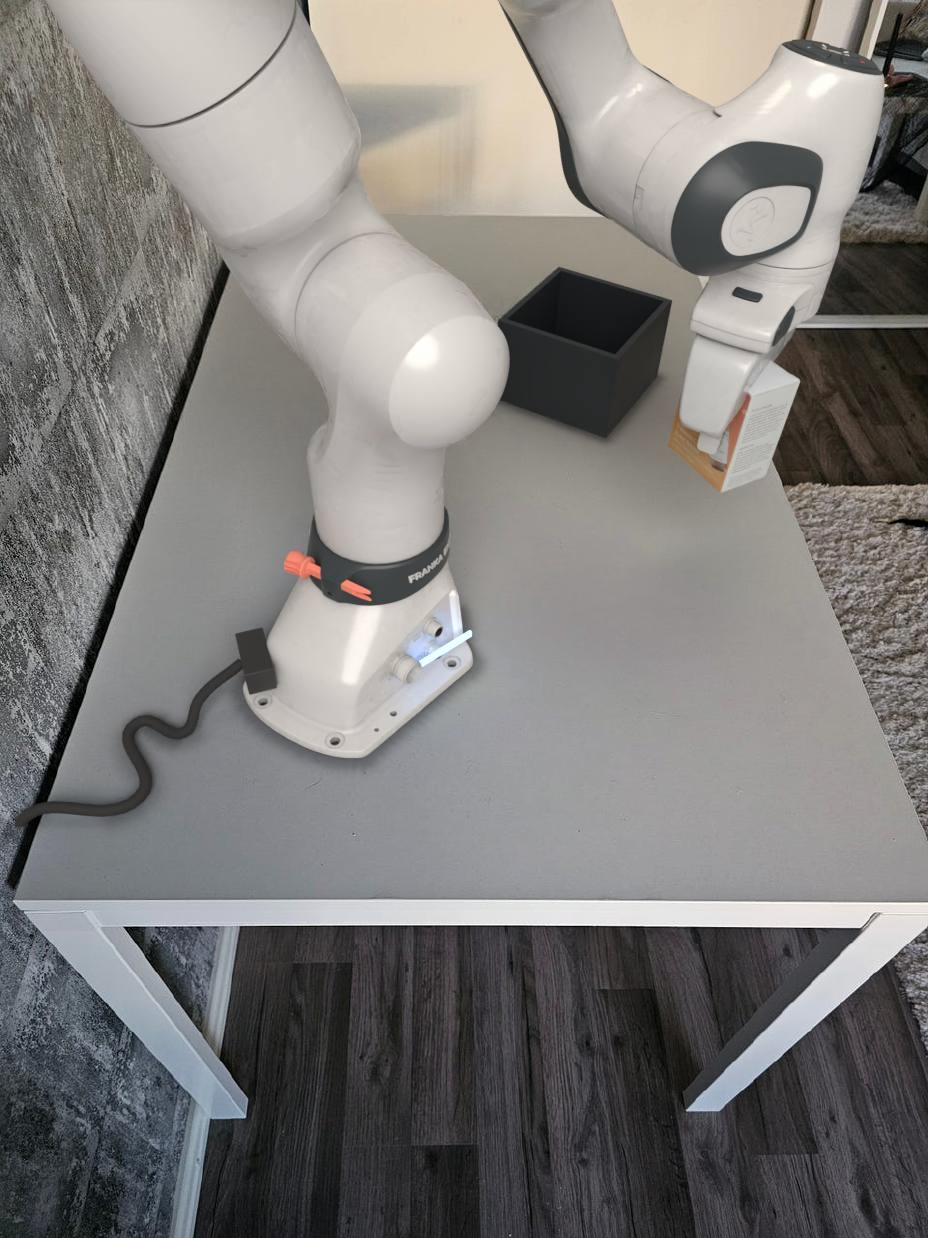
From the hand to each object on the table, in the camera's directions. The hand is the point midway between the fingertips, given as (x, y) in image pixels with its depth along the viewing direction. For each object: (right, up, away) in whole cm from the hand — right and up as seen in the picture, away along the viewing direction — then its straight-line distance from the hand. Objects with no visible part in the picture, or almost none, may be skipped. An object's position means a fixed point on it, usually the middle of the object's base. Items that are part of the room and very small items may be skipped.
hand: (725, 424), depth 82 cm
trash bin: (-9, +12, +35) cm, 38 cm away
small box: (0, -3, +3) cm, 4 cm away
